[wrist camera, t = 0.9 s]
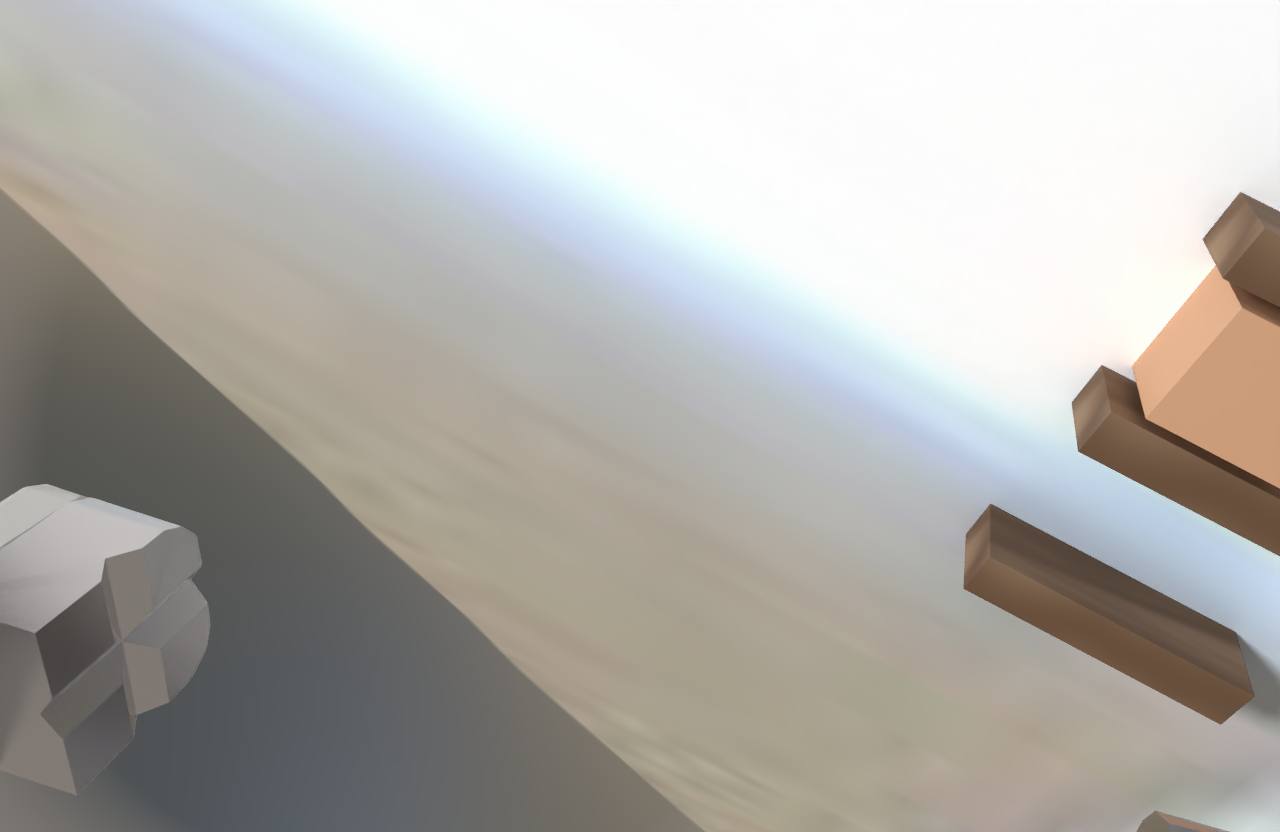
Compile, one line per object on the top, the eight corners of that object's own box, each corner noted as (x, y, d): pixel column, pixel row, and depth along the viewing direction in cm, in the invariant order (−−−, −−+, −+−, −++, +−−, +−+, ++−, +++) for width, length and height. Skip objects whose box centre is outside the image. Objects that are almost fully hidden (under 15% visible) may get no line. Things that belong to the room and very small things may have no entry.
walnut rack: (1240, 192, 36) (1264, 227, 33) (1550, 347, 36) (1606, 400, 32) (965, 534, 46) (963, 588, 43) (1204, 660, 46) (1220, 724, 42)
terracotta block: (1217, 261, 38) (1242, 307, 34) (1364, 336, 37) (1405, 391, 34) (1131, 364, 41) (1145, 418, 37) (1267, 435, 40) (1295, 496, 37)
